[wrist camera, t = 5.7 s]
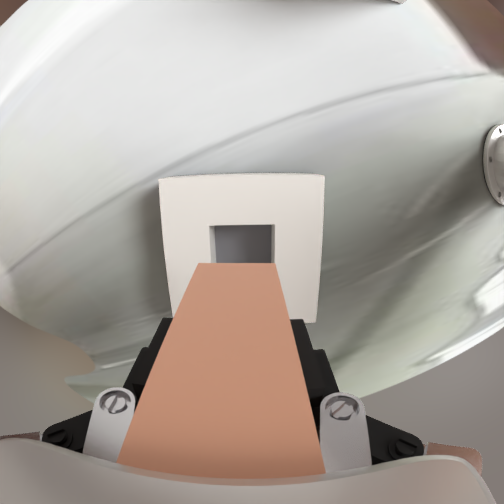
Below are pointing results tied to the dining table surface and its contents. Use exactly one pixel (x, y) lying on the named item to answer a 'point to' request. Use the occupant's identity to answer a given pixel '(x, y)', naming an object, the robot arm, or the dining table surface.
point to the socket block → (246, 229)
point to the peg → (227, 385)
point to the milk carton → (399, 1)
